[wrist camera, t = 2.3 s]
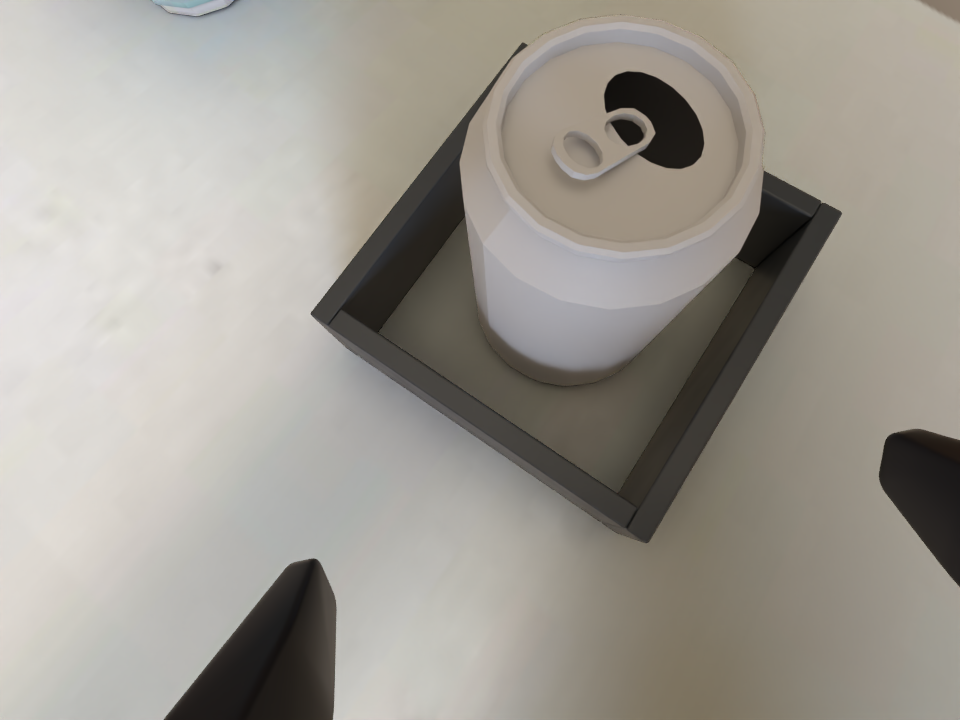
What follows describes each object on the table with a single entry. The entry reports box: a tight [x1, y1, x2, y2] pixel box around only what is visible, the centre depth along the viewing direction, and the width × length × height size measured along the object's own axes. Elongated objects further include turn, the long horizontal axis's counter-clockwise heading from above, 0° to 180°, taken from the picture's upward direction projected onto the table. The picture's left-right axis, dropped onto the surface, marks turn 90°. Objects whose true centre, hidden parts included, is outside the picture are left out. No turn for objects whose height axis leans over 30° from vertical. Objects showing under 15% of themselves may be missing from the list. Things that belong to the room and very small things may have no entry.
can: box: [460, 14, 765, 386], centre depth 18 cm, size 8×8×12 cm
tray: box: [311, 43, 842, 543], centre depth 21 cm, size 14×14×4 cm
